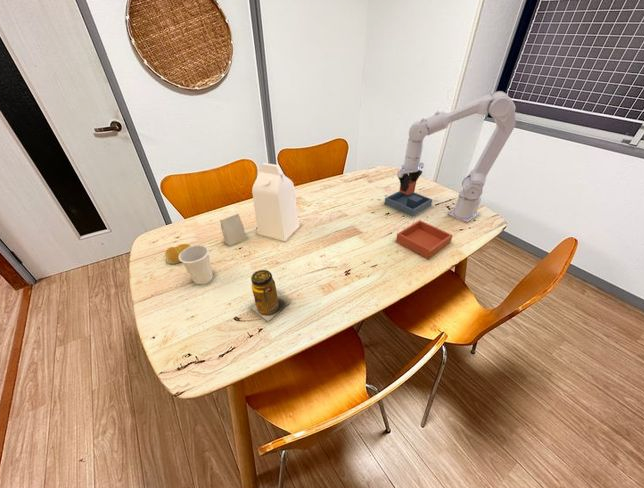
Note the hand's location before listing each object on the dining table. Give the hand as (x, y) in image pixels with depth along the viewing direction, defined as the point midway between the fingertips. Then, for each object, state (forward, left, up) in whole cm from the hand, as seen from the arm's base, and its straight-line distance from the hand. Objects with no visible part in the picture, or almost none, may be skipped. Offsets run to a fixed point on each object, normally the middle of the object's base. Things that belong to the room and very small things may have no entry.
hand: (407, 189), depth 114 cm
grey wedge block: (+66, -27, -9) cm, 72 cm away
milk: (+50, -22, -9) cm, 55 cm away
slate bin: (-2, 0, -9) cm, 9 cm away
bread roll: (+85, -31, -9) cm, 91 cm away
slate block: (-2, +3, -8) cm, 9 cm away
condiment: (+73, +9, -9) cm, 74 cm away
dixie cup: (+83, -15, -9) cm, 85 cm away
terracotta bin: (+16, +20, -9) cm, 27 cm away
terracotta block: (0, 0, -1) cm, 1 cm away
